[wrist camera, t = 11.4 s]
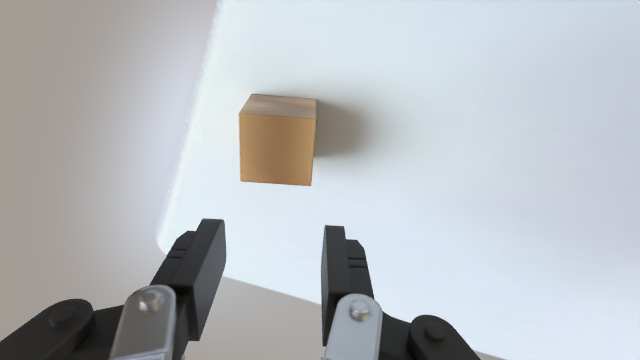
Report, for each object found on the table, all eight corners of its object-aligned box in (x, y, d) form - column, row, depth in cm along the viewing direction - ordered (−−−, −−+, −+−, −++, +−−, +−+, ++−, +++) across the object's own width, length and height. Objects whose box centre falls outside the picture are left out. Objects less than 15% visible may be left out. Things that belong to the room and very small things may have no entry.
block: (251, 153, 26) (240, 181, 22) (251, 93, 24) (238, 112, 20) (311, 158, 26) (310, 186, 22) (316, 98, 24) (316, 118, 20)
